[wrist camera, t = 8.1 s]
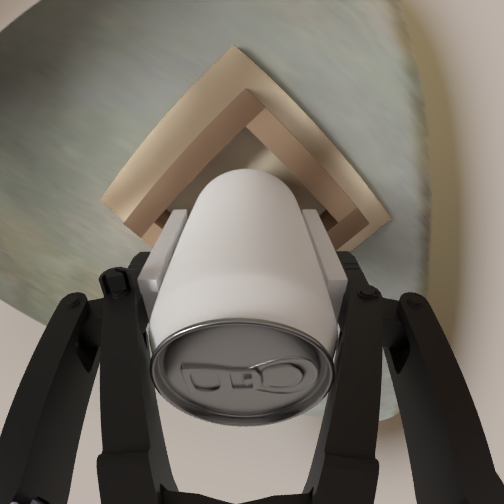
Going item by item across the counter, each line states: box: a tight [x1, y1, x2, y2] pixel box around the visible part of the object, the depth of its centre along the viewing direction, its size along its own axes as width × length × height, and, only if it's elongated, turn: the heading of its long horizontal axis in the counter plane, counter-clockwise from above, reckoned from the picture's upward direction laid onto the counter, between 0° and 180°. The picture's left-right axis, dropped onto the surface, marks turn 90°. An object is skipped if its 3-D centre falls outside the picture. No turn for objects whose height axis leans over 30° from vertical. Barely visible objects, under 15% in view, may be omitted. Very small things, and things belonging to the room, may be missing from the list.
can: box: [149, 169, 338, 426], centre depth 14 cm, size 6×6×12 cm
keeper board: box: [100, 45, 391, 253], centre depth 20 cm, size 16×14×3 cm
